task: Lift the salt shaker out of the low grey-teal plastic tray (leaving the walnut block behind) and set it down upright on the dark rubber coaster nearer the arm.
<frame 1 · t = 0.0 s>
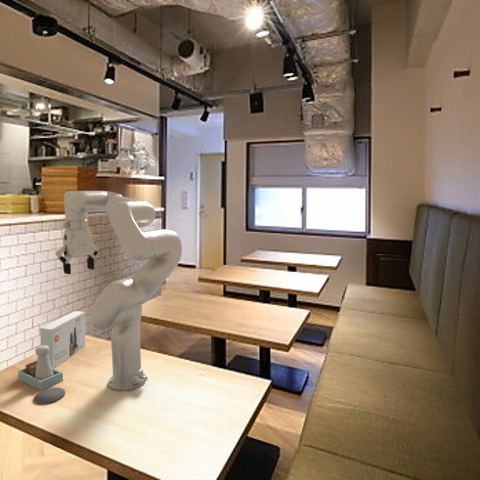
hand: (79, 271, 140), 37 cm above the table, tool pointing down, fingers open, 9 cm apart
coaster: (49, 396, 123), on the table
tray: (40, 379, 133), on the table
salt shaker: (44, 382, 132), resting in tray
walnut block: (35, 377, 135), resting in tray
skincare box: (65, 357, 151), on the table
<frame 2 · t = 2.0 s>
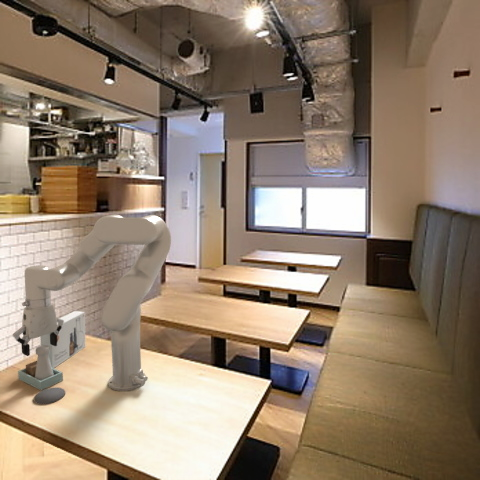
hand: (40, 349, 130), 12 cm above the table, tool pointing down, fingers open, 9 cm apart
nothing on the table moved.
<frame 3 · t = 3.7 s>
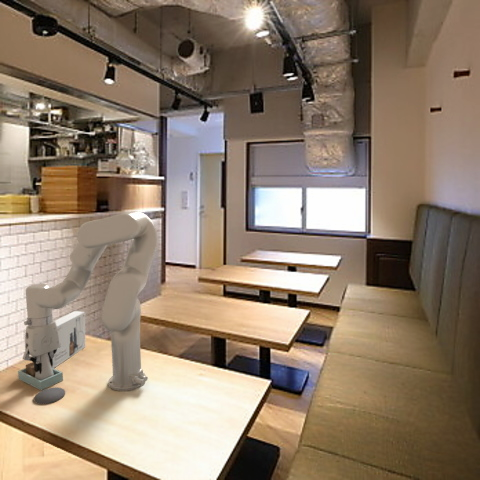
hand: (43, 370, 131), 4 cm above the table, tool pointing down, fingers closed on salt shaker, 3 cm apart
salt shaker: (44, 382, 132), resting in tray, touching gripper
everything else where it was.
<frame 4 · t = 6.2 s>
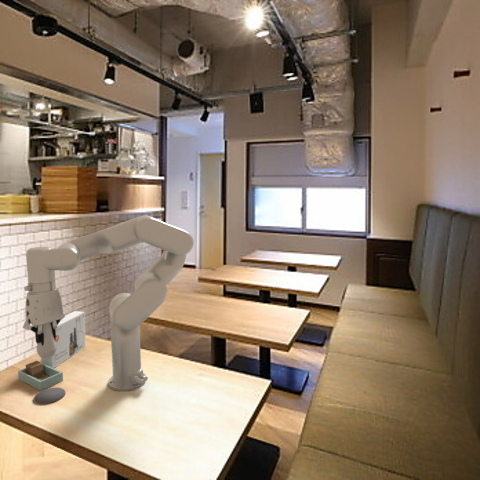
hand: (46, 342, 120), 19 cm above the table, tool pointing down, fingers closed on salt shaker, 3 cm apart
salt shaker: (47, 355, 121), point 14 cm above the table, touching gripper
everything else where it was.
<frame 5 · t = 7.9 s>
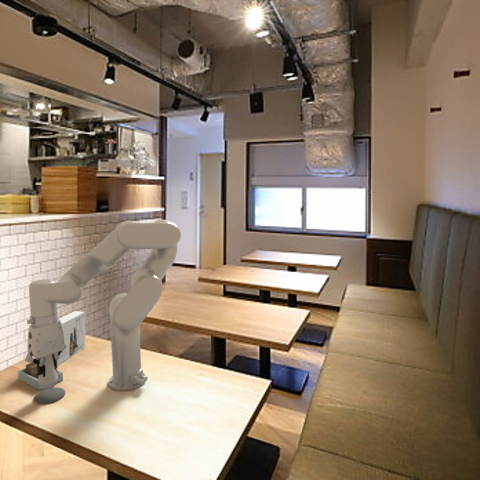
hand: (47, 373, 122), 8 cm above the table, tool pointing down, fingers closed on salt shaker, 3 cm apart
salt shaker: (48, 386, 122), point 3 cm above the table, touching gripper
everything else where it was.
when the fingers open (6 cm above the table, at t = 9.0 s): salt shaker drops 1 cm, resting on coaster.
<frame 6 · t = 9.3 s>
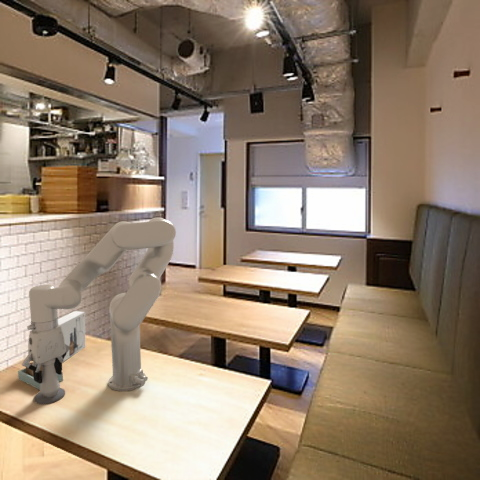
hand: (48, 377, 122), 7 cm above the table, tool pointing down, fingers open, 6 cm apart
salt shaker: (50, 394, 123), resting on coaster
everything else where it was.
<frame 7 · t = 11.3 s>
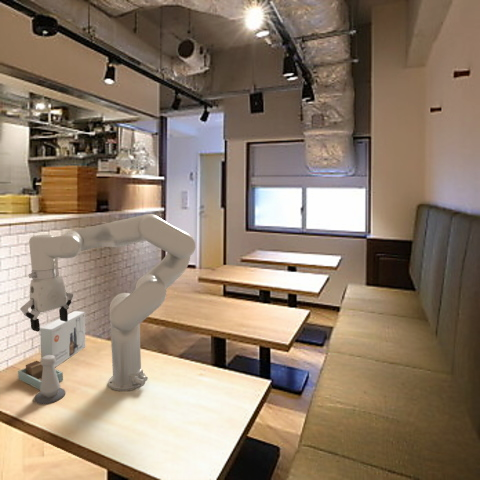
hand: (50, 325, 122), 23 cm above the table, tool pointing down, fingers open, 9 cm apart
nothing on the table moved.
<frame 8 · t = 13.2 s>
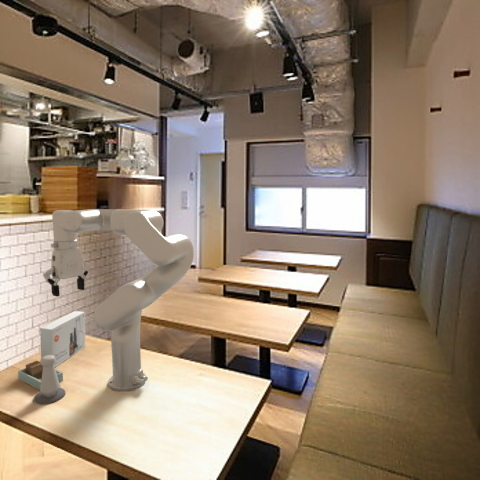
hand: (68, 292, 135), 30 cm above the table, tool pointing down, fingers open, 9 cm apart
nothing on the table moved.
at the end: salt shaker 0.3 cm from the coaster (horizontally); salt shaker tilted 0°; salt shaker resting on coaster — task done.
